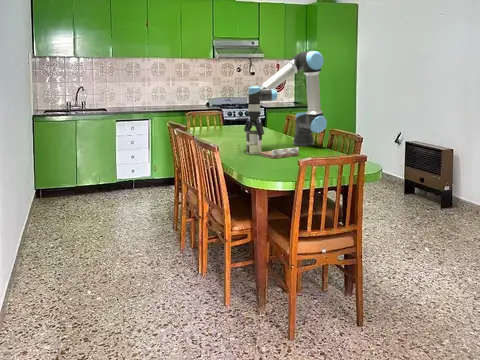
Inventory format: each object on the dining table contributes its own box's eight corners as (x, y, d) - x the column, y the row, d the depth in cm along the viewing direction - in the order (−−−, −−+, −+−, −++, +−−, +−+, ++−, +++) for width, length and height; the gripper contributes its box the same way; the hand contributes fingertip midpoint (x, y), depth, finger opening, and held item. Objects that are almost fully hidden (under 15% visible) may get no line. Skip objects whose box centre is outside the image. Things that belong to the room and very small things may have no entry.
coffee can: (243, 153, 328) (242, 131, 325) (252, 150, 336) (252, 129, 333) (255, 154, 322) (255, 132, 319) (265, 152, 330) (265, 131, 326)
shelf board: (285, 152, 330) (285, 144, 329) (298, 155, 318) (299, 147, 317) (260, 155, 320) (260, 147, 318) (273, 158, 308) (273, 150, 307)
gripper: (239, 109, 331) (238, 141, 336) (260, 112, 311) (259, 146, 315) (248, 109, 335) (248, 140, 340) (270, 112, 314) (269, 145, 319)
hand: (253, 143), depth 327 cm, fingers open, 13 cm apart
